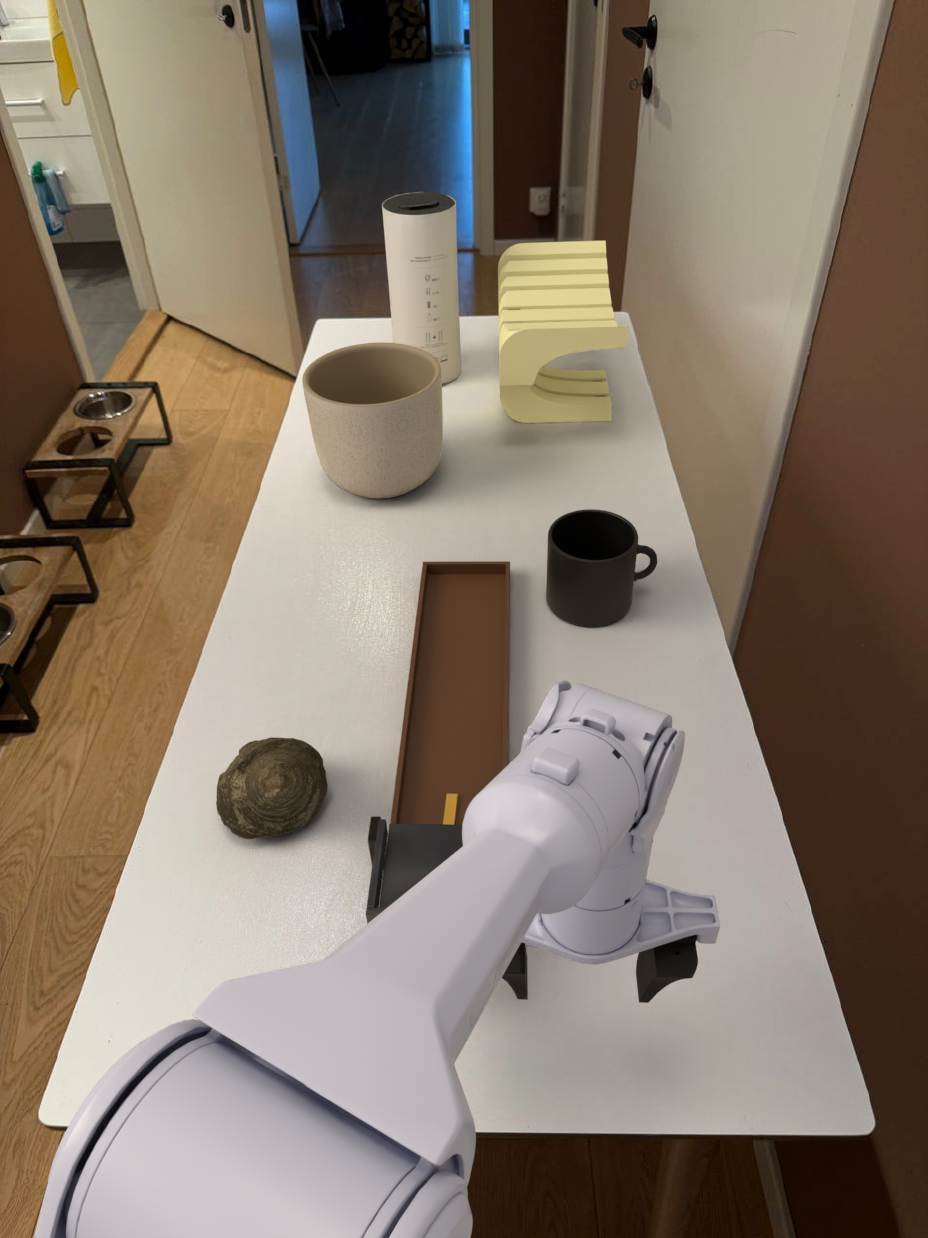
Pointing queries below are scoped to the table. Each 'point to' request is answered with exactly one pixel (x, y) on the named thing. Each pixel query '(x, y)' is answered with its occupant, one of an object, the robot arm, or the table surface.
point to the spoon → (450, 809)
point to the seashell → (271, 788)
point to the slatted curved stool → (554, 330)
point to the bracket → (372, 835)
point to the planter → (376, 417)
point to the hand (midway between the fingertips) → (582, 986)
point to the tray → (455, 690)
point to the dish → (407, 859)
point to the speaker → (424, 275)
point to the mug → (593, 567)
